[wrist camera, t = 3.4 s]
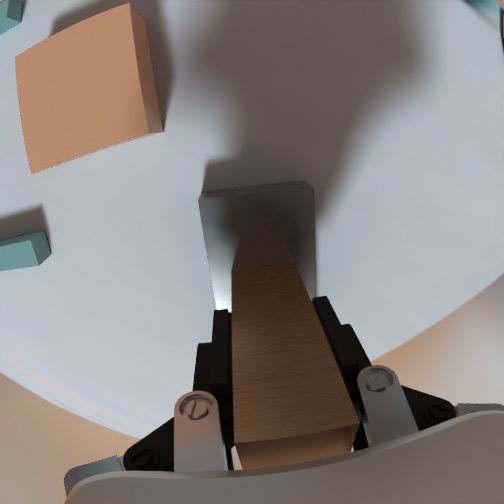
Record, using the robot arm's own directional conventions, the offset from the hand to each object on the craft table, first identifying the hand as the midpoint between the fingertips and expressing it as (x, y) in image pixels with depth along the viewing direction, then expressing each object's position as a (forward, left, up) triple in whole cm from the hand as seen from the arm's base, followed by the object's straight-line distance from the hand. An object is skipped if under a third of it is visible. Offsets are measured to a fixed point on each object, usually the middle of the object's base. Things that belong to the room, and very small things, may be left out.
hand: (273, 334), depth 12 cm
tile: (+7, -11, -5) cm, 14 cm away
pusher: (0, 0, -5) cm, 5 cm away
